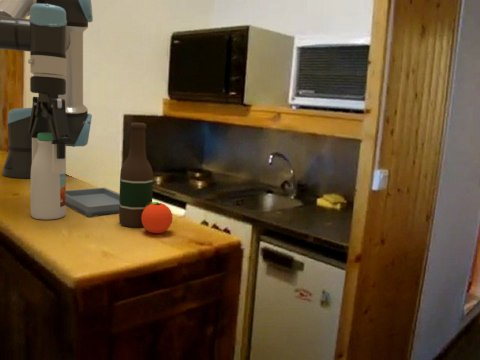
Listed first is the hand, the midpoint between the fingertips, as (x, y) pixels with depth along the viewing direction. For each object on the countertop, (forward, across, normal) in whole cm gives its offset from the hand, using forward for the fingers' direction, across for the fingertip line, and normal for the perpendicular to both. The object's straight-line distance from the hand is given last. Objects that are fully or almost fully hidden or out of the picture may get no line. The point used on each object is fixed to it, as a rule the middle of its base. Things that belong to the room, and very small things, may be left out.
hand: (48, 168), depth 106 cm
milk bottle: (+12, 0, 0) cm, 12 cm away
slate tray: (+12, -5, +15) cm, 20 cm away
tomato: (+12, +23, +16) cm, 30 cm away
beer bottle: (+12, +15, +15) cm, 24 cm away
